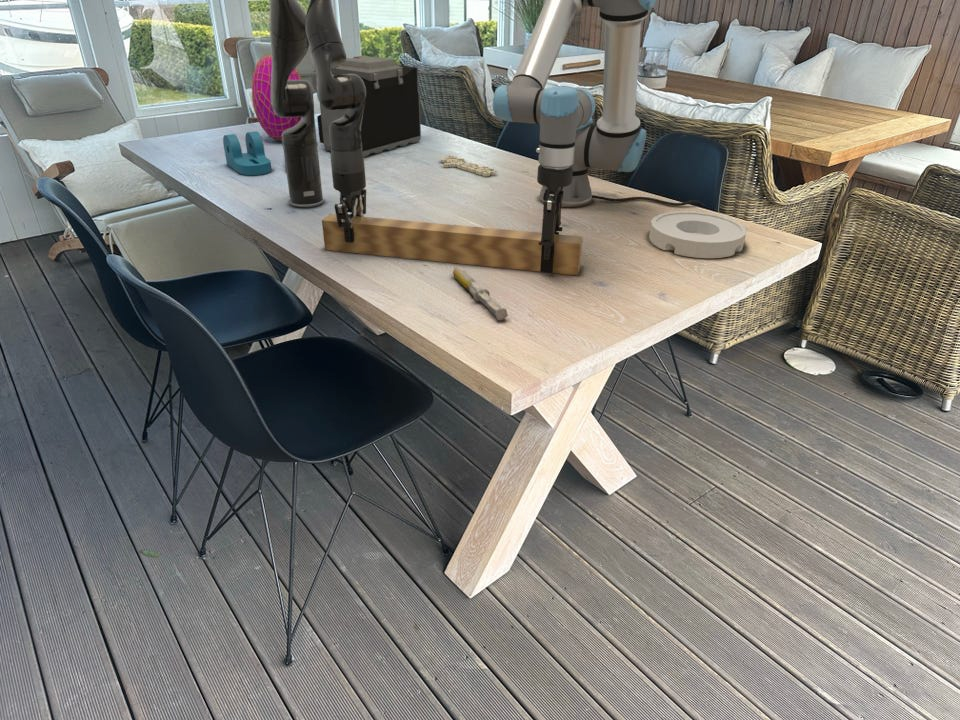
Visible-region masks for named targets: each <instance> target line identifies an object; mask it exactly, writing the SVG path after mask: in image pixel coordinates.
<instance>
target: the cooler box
mask: <svg viewBox="0 0 960 720" xmlns="http://www.w3.org/2000/svg"><path fill="white" fill-rule="evenodd" d="M331 73H332V75H343V74H356V75H358V76H359V77H360V78H361V79H362V80H363V82H364V84H365V87H366V102H365V107H364V112H363V118H362V124H361V140H362V151H363V155H364V158H366V157H367V158H368V157H369V155H371V154H375V155H377V154H381V153H382V152H383V151H391V150H395V149H396V148H397V147H405V146H407V145H408V144H416V143H418V142H419V141H421V137H422V128H421V97H420V92H419V91H420V89H419V68H418V67H417V66H408V65H400V64H396V62H395V60H394V59H393V58H385V57H377V56H367V55H356V56H353V57H350V58H349V57H346V61H345V62H344V64H342V65H341V66H339V67H337V68H334V69H332V70H331ZM310 79H311V87H313V88H312V89H313V90H314V91H315V93H316V94H317V88H316V70H314V71H313V70H312V71H310ZM319 110H320V111H319V112H320V114H319V115H317V116H316V119H317V128H318V138H319V143H320V144H323V146H324V149H325V150H327V151H330V152H331V146H330V135H329V125H330V123H331V122H333V121H335V120H337V119H340V118H341V117H343V116H344V114H345V111H346V109H341V110H332V111H331V110H327V109H325V108H324V107H323V106H322V105H321V104H320V103H319Z"/></svg>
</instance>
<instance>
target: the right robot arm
mask: <svg viewBox="0 0 960 720" xmlns="http://www.w3.org/2000/svg"><path fill="white" fill-rule="evenodd" d="M656 2H657V0H542V3H543V6H542V9H541V11H540V13H539V16H538V18H537V20H536V23H535V26H534V28H533V29H532V32H531V35H530V38H529V40H528V42H527V44H526V47H525V49H524V51H523V54H522V56H521V59H520V62H519V63H518V66H517V68H516V71H515V73H514V76H513V78H512V80H511V82H510V84H500V85H499V86H498V87H496V88H495V91H494V93H493V97H492V111H493V114H494V116H495V117H496V118H497V119H498V120H501V121H505V122H511V123H523V124H534V125H539V143H538V144H539V145H538V147H536V149H535V152H536V153H537V154H538V163H539V165H537V176H536V181H537V183H538V184H539V185H540V186H542V187H541V189H540V192H539V200H540V202H542V204H543V207H542V210H543V211H542V224H541V225H542V226H541V233H542V237H541V242H539V245H542V251H541V268H540V272H541V273H549V272H550V274H553V273H552V272H553V259H554V235H555V234H560V232H563V226H561V225H562V222H561V220H562V208H580V207H584V206H588V205H589V204H591V203H592V199H595V200H602V201H606V202H615V203H616V202H618V203H619V202H627V201H650V202H653V203H657V204H661V205H662V204H663V205H666V206H671V207H681V206H682V207H683V206H686V205H691V204H697V205H698V206H699V207H704V206H705V205H704V204H703V203H702V202H701V201H699V200H697V199H691V200H688V201H682V202H671V201H666V200H663V199H658V198H653V197H647V196H631V197H630V196H629V197H622V198H611V197H606V196H601V195H595V194H593V193H592V188H591V184H590V179H589V168H591V169H597V170H598V169H599V170H606V171H612V172H617V173H621V172H624V173H631V172H633V171H635V170H636V169H637V167H638V165H639V163H640V160H641V159H642V155H643V152H644V148H645V145H646V140H647V130H646V129H644V128H641V120H640V118H639V117H638V116H637V115H636V107H637V92H638V91H637V90H638V75H639V61H640V59H639V58H640V57H639V56H640V45H641V30H642V22H643V21H644V20H645V19H646V18H647V17H648V15H649V11H650V10H651V9H653V8H654V7H655V5H656ZM585 7H591V8H593V7H594V8H599V13H598V14H599V15H598V17H599V19H600V20H601V21H602V22H603V23H604V25H605V27H604V53H603V54H604V57H603V64H604V65H603V88H602V89H603V90H602V93H603V94H602V115H601V116H600V117H599V118H598V119H597V121H596V123H594V121H593V116H594V114H595V111H596V100H595V98H594V96H593V94H592V93H591V92H590V91H588V90H586V89H584V88H575V87H570V86H551V87H550V86H549V87H547V88H546V85H547V83H548V79H549V77H550V76H551V73H552V70H553V68H554V66H555V63H556V61H557V59H558V56H559V53H560V51H561V48H562V46H563V43H564V41H565V39H566V36H567V34H568V31H569V30H570V29H569V28H570V26H571V24H572V21H573V20H574V18H576V17H577V16H579V14H580V13H581V11H582V8H585Z"/></svg>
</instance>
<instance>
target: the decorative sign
mask: <svg viewBox="0 0 960 720" xmlns="http://www.w3.org/2000/svg"><path fill="white" fill-rule="evenodd" d="M440 163H443V167H444V168H451V167H452V168H457V169H461V170H464V171H467V172H470V173H475V174H476V175H480V176H483V177H491V176H496V171H495V168H494V167H489V166H487V165H484V166H483V165H481V166H479V164H478V163H473V162H465V158H464V157H459V158H458V156H457V155H451V154H449V155H448V157H442V158H441V159H440Z"/></svg>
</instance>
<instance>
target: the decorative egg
mask: <svg viewBox="0 0 960 720" xmlns="http://www.w3.org/2000/svg"><path fill="white" fill-rule="evenodd" d="M253 70H254V71H253V73H252V77H251V101H252V107H253V110H254V114H255V116H256V118H257V121H258V123H259V125H260V127H261V128H262V130H263V131H264V133H266V135H267V136H268V137H270V138H271V139H273V140H275V141H281V142H282V133H283V132H284V131H285V130H287V129H289V128H291V127H293V126H295V125H296V124H297V123H298V122H299V121H300V120H301V117H288V118H284V117H278V116H277V115H276V114H275V113H274V111H273V108H272V105H271V72H272V56H271V54H268V55H265V56H262V57H261V58H260V59H259V60H258V61H257V62H256V65H255V68H254V69H253ZM288 80H302V77H301V75H300V73H299V71H298V69H297V67H296V68H295V69H294V70H293V71H292V73H291V74H290V76H289V78H288Z"/></svg>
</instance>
